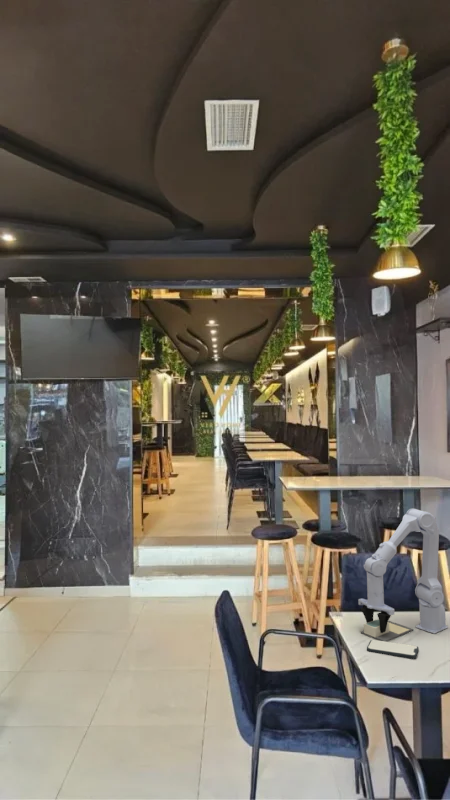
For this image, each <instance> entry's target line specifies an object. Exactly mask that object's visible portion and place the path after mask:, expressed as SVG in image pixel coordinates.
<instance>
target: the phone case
mask: <svg viewBox="0 0 450 800" xmlns="http://www.w3.org/2000/svg"><path fill="white" fill-rule="evenodd" d="M366 651H367V652H369V653H374V654H380V655H385V656H391V657H396V658H403V659H409V660H416V659H417V658H418V655H419V652H420V651H419V646H417V645H413V644H405V643H398V642H391V641H388V642H386V641H379V640H376V639H370V641H369V642H368V645H367V646H366Z"/></svg>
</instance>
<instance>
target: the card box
mask: <svg viewBox="0 0 450 800" xmlns="http://www.w3.org/2000/svg"><path fill="white" fill-rule="evenodd" d="M363 631H364V633H365V634H368V635H370V636H373V637H378V636H380V635H383V634H385V633H388V632H389V623H387V627H386V631H385V632H383V633H381V632H380V623H379V618H377V619H373V621H371V622H368V623H367V622H366V623H363Z"/></svg>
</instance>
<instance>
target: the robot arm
mask: <svg viewBox="0 0 450 800" xmlns="http://www.w3.org/2000/svg"><path fill="white" fill-rule="evenodd" d="M436 519H437V518H436V517H435V516H434V515H433V514H432V513H431V512H429V511H425V510H420V509H417V508H415V507H414V508H409V509H408V510H407V511H406V513H405V514H404V515H403V516H402V519H401V520H402V521H401V522H400V524H399V525H398V527H397V528H396V530H395V531H394V533H393V534H392V535H391V537H390V538H389V540H386V541H383V542H381V543H380V544H378V545H379V547H378V548H377V550H376V551H375V552H374V553H373V554H371V557H368V558H367V559H365V562H364V564H363V568H364V569H363V570H365V572H366V587H367V588H366V591H367V599H365V598H358V599H357V600H358V605H359V606H362V607H360V611H361V613H362V614H363V616H364V619H365V622H366V623H368V622H371V621H374V613H375V610H376V611H379V612H378V613H377V614H376V615H377V619H379V623H380V632H381V633H383V632H385V631H386V627H387V623H388V621H390V618H391V617H392V616H393V615H395V608H393V607H391V606H389V605H387V604H385V594H384V593H385V592H384V575H385V574H386V572H387V566H388V564H389V563H390V561H391V560H392V559H393V557H395V555H396V554H397V552H398V551H397V550H398V549H397V547H398V546H399V545H400V544H401V542H402V541H404V540H405V538H406V537H407V536H408V535H409V534H410V533H412V532H417V531H418V532H419V531H420V533H421V534H422V536H423V537H422V538H423V540H422V559H421V561H422V563H421V576H420V577H418V579H417V584H416V587H415V589H414V591H415V596H416V597H417V599H418V603H419V604H418V605H419V606H418V607H419V624H417V625H415V628H416V629H420V630H422V631H425V632H427V633H432V634H437V633H439V632H441V631H445V630H446V629H448V628H449V626H448V625H447V624H446V622H447V620H446V619H447V618H446V608H445V606H444V605H443V602H444V600H445V595H444V592H443V586H442V584H441V583H440V581H439V579H438V572H439V571H438V569H439V567H438V566H439V544H440V541H439V540H440V539H439V537H440V530H439V527H438V525H437V521H436Z"/></svg>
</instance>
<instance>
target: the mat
mask: <svg viewBox="0 0 450 800" xmlns="http://www.w3.org/2000/svg"><path fill="white" fill-rule="evenodd" d="M388 623H389V632H388V633H385V634H383V635H380V636H378V637H373V636H370V635H368V634H365V633H364V630H362V631H360V634H361V635H363V636H367V637H369V638H371V639H373V640H379V641H386V642H391V641H392V640H395V639H397V638H399V637H402V636H404V635H407V634H409V632H410V633H411V632H414V628H411V627H408V626H405V625H402V624H399V623H396V622H393V621H391V620H388Z"/></svg>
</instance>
